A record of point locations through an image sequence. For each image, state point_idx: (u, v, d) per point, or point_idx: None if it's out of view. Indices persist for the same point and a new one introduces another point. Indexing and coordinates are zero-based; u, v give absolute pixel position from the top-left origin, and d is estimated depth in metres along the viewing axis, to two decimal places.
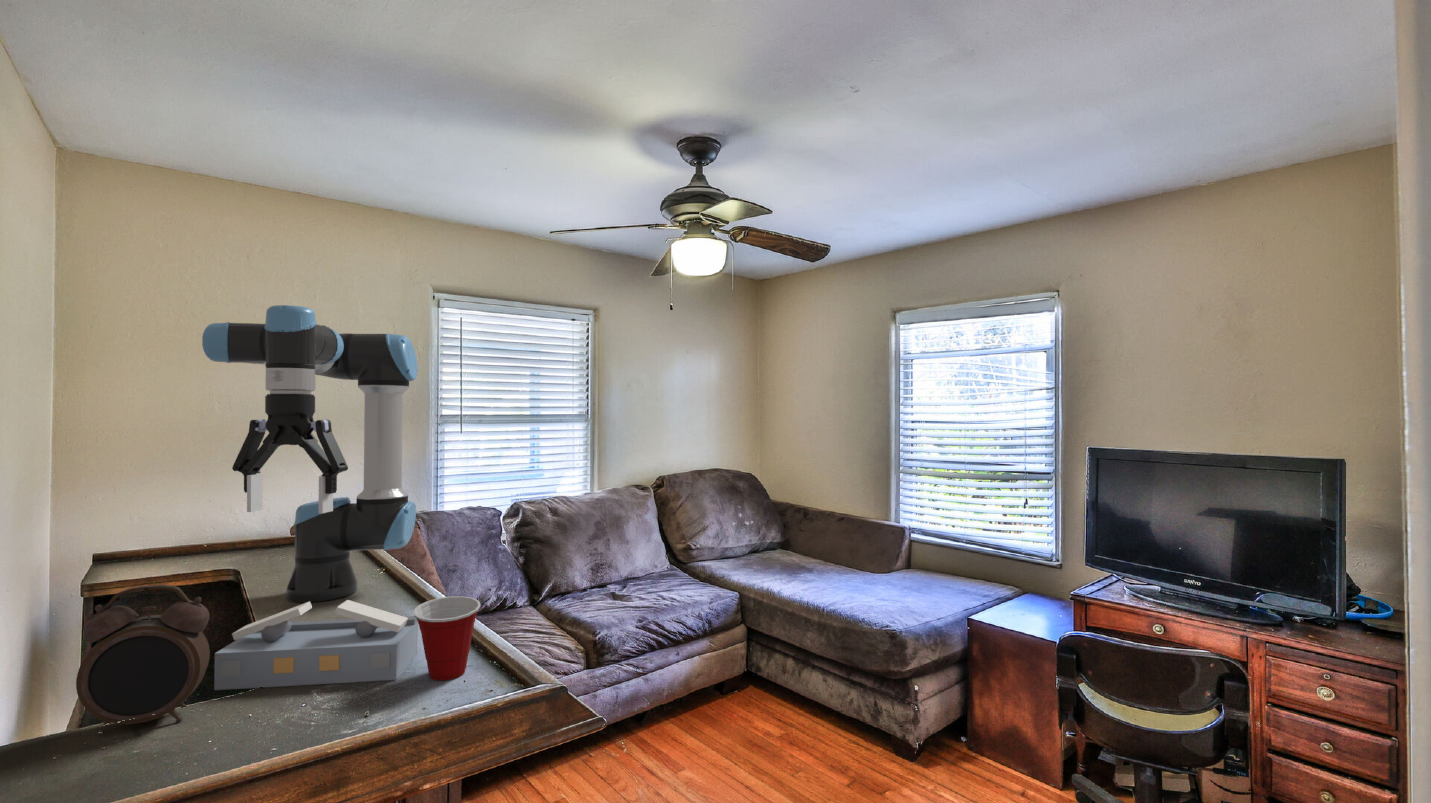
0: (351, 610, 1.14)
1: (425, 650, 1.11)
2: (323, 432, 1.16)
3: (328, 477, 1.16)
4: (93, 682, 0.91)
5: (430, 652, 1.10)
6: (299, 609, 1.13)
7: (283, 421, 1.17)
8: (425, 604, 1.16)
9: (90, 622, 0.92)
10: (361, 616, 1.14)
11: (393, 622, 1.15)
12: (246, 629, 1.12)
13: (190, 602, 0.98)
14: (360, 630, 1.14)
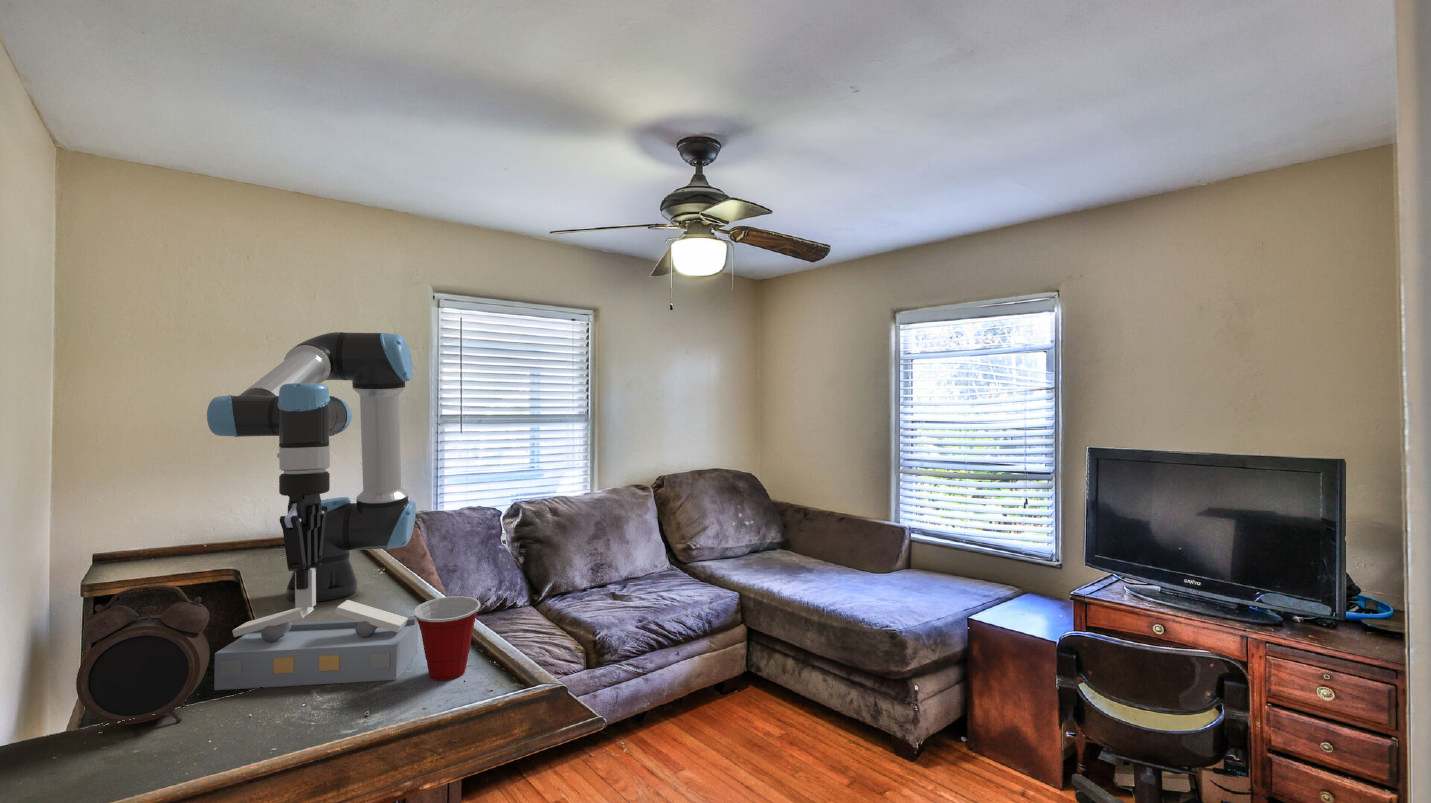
0: (351, 610, 1.14)
1: (425, 650, 1.11)
2: (284, 529, 1.10)
3: None
4: (93, 682, 0.91)
5: (430, 652, 1.10)
6: (301, 611, 1.13)
7: None
8: (425, 604, 1.16)
9: (90, 622, 0.92)
10: (361, 616, 1.14)
11: (393, 622, 1.15)
12: (247, 627, 1.12)
13: (190, 602, 0.98)
14: (360, 630, 1.14)
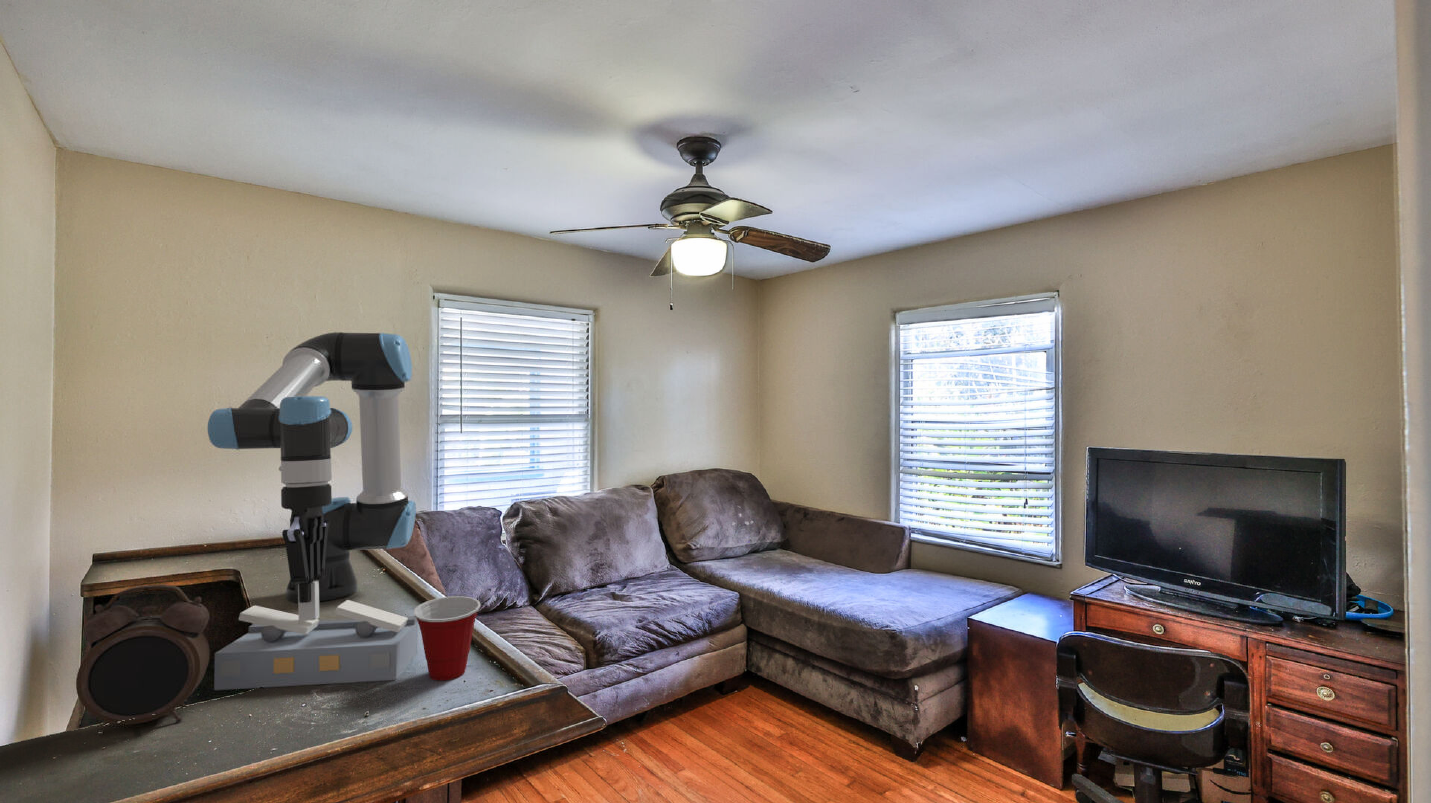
0: (351, 610, 1.14)
1: (425, 650, 1.11)
2: (286, 543, 1.10)
3: None
4: (93, 682, 0.91)
5: (430, 652, 1.10)
6: (308, 628, 1.13)
7: None
8: (425, 604, 1.16)
9: (90, 622, 0.92)
10: (361, 616, 1.14)
11: (393, 622, 1.15)
12: (254, 617, 1.12)
13: (190, 602, 0.98)
14: (360, 630, 1.14)
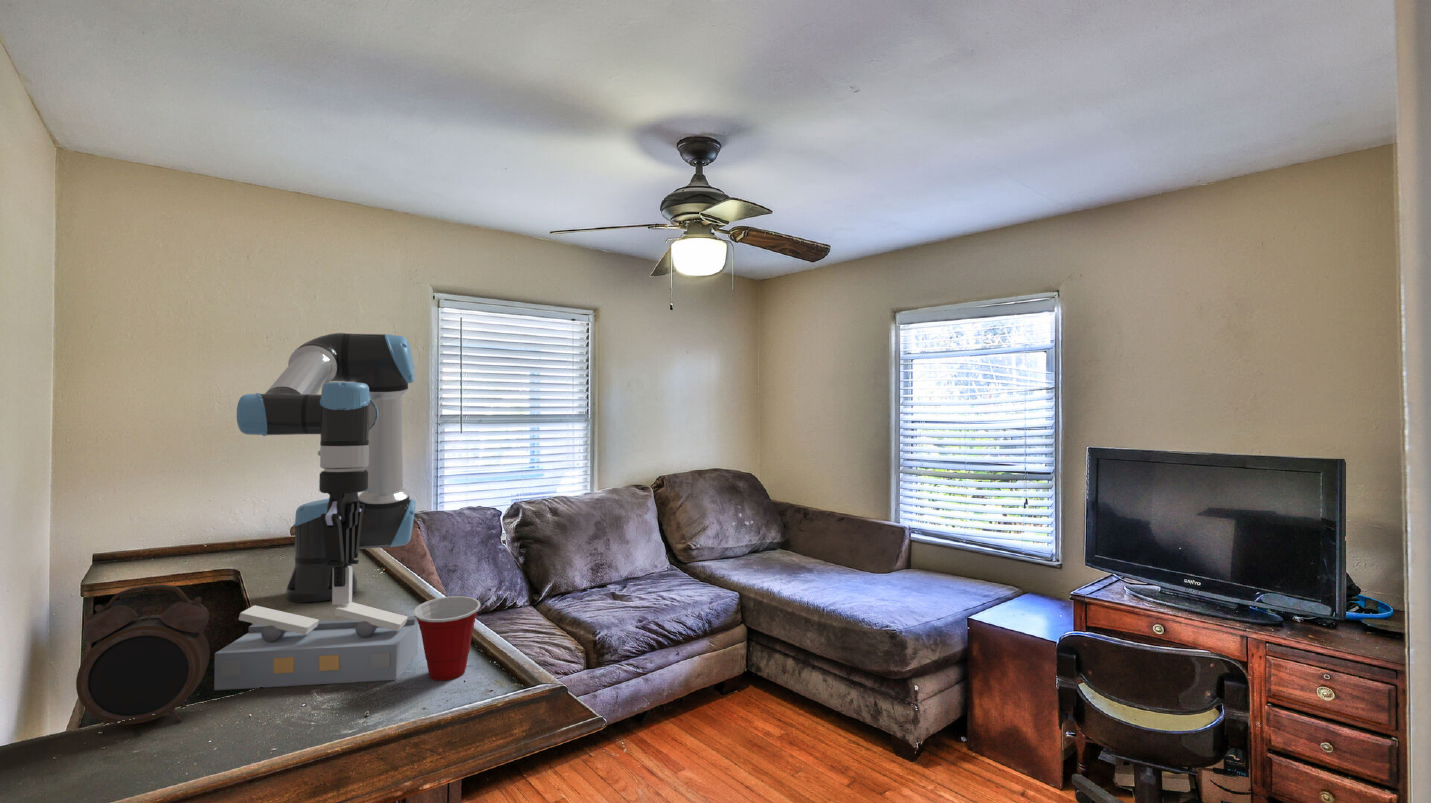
0: (350, 610, 1.14)
1: (425, 650, 1.11)
2: (324, 527, 1.11)
3: None
4: (93, 682, 0.91)
5: (430, 652, 1.10)
6: (308, 628, 1.13)
7: None
8: (425, 604, 1.15)
9: (90, 622, 0.92)
10: (360, 616, 1.14)
11: (393, 621, 1.15)
12: (254, 617, 1.12)
13: (190, 602, 0.98)
14: (360, 630, 1.14)
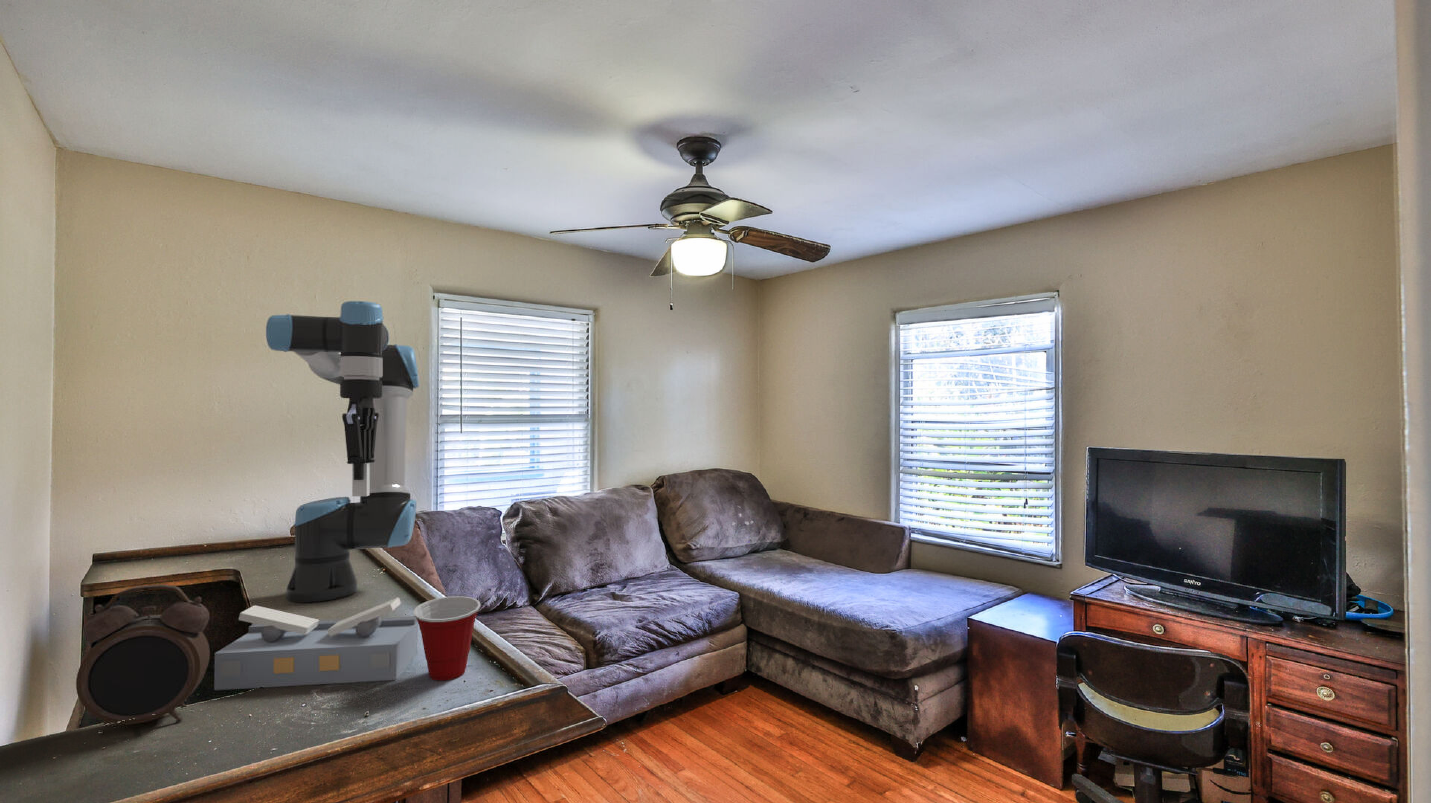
0: (341, 623, 1.14)
1: (425, 650, 1.11)
2: (345, 425, 1.27)
3: None
4: (93, 682, 0.91)
5: (430, 652, 1.10)
6: (308, 628, 1.13)
7: None
8: (425, 604, 1.16)
9: (90, 622, 0.92)
10: (352, 621, 1.14)
11: (383, 606, 1.15)
12: (254, 617, 1.12)
13: (190, 602, 0.98)
14: (362, 632, 1.14)
